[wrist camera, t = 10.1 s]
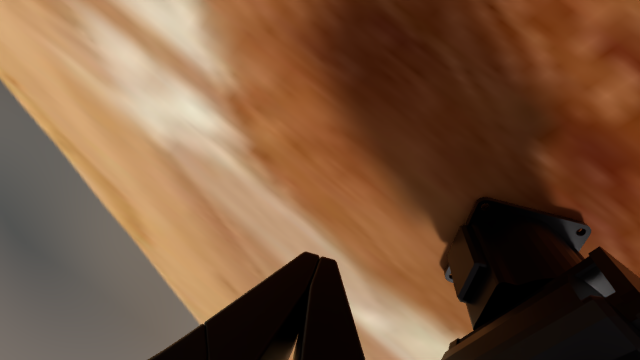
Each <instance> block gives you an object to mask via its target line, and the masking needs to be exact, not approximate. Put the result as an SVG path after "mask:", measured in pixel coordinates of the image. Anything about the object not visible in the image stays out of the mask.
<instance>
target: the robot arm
mask: <svg viewBox="0 0 640 360" xmlns="http://www.w3.org/2000/svg"><path fill="white" fill-rule="evenodd" d="M483 204H488V206H487V207H486V208H481V206H482V205H483ZM581 228H582V230H581V231H580V232H576V231H577V230H578V229H581ZM590 233H591V229H590V227H589V226H588V225H587V224H585V223H584V222H581V221H577V220H573V219H570V218H566V217H562V216H558V215H554V214H550V213H546V212H542V211H538V210H535V209H531V208H527V207H523V206H519V205H515V204H511V203H507V202H503V201H499V200H496V199H492V198H488V197H482V198H479V199H478V200H477V201H476V203H475V205H474V207H473V209H472V211H471V214H470V216H469V218H468V220H467V222H466V224H464V225H462V226H460V228H459V230H458V232H457V235H456V237H455V239H454V241H453V244H452V246H451V248H450V250H449V252H448V255H447V258H448V264H447V266H446V268H445V271H444V274H445V278H446V280H447V281H449V282H452V283H454V287H455V291H456V295H457V297H458V299H459V301H460V302H464V303H466V305H467V309H468V313H469V316H470V320H471V324H472V327H473V330H474V331H472V332H471V333H469V334H468V335H466V336H465V337H463V338H462V339H459V338H457V339H456V340H454V341H453V342H451V343H450V346H449V350H448V351H446V352H445V354H444V356H443V358H442V359H441V360H640V278H639V277H638V276H636V275H635V274H634V273H633V272H631V271H630V270H629V269H628V268H626V267H625V266H624V265H623V264H621V263H620V262H619V261H618V260H616V259H615V258H614V257H613V256H611V255H610V254H609V253H608V252H606V251H605V250H604V249H603V248H601V247H600V246H599V247H598V248H596V249H595V250H593V251H592V252H590V253H589V257H587V258H586V259H585V258H584V257H583V256H582V255H581V254H580V253H579V250H580V249H581V247H582V246H583V244H584V243H585V241H586V240H587V238H588V237H589V235H590ZM450 274H451V275H450ZM297 337H298V338H297ZM296 340H297V342H296ZM295 343H296V346H295V351H294V356H293V360H365V357H364V354H363V350H362V347H361V344H360V340H359V337H358V333H357V330H356V326H355V323H354V320H353V316H352V313H351V309H350V306H349V303H348V299H347V296H346V292H345V289H344V286H343V282H342V279H341V275H340V272H339V269H338V265H337V262H336V261H335V260H333V259H330V258H326V257H321V258H320V257H319V255H316V254H313V253H309V252H303V253H302V254H300V255H299V256H298V257H296V258H295V259H293V260H292V261H290V262H289V263H288V264H286V265H285V266H283V267H282V268H281V269H279V270H278V271H276V272H275V273H273V274H272V275H271V276H269V277H268V278H266V279H265V280H264V281H262V282H261V283H259V284H258V285H257V286H255V287H254V288H252V289H251V290H249V291H248V292H247V293H245V294H244V295H242V296H241V297H240V298H238V299H237V300H235V301H234V302H232V303H231V304H230V305H228V306H227V307H225V308H224V309H223V310H221V311H220V312H218V313H217V314H215V315H214V316H213V317H211V318H210V319H208V320H207V321H206V322H205V323H204V324H201V325H200V326H198V327H197V328H196V329H194V330H193V331H191V332H190V333H188V334H187V335H185V336H184V337H183V338H181V339H179V340H178V341H177V342H175V343H173V344H172V345H171V346H169V347H167V348H166V349H164V350H163V351H161V352H160V353H158V354H156V355H155V356H153V357H151V358H150V359H148V360H289V357H290V355H291V353H292V350H293V348H294V345H295Z"/></svg>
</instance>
